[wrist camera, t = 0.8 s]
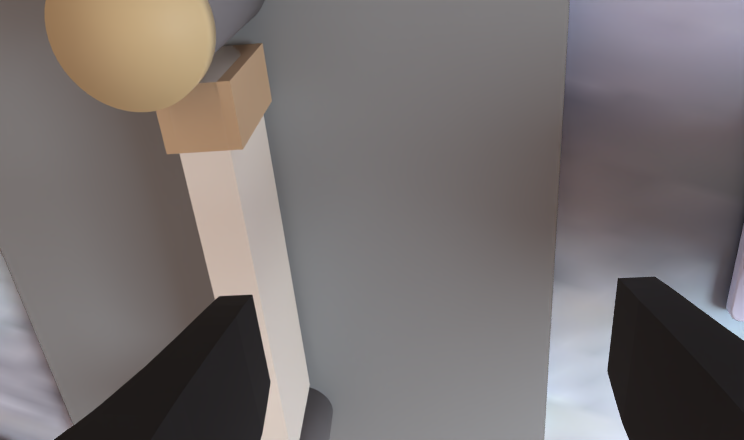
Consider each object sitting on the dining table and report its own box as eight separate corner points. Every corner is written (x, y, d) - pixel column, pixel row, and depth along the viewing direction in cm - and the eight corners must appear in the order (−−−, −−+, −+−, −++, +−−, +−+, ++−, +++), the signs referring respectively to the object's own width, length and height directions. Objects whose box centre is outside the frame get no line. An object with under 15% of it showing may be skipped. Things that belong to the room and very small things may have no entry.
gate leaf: (318, 383, 23) (304, 466, 20) (268, 386, 23) (246, 468, 20) (262, 43, 17) (229, 81, 14) (197, 48, 17) (149, 86, 14)
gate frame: (566, -113, 16) (677, -106, 10) (538, 431, 25) (585, 628, 19) (-97, -51, 18) (-396, -8, 11) (99, 443, 27) (-2, 629, 20)
